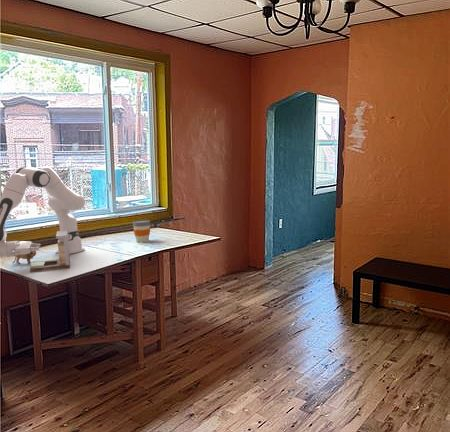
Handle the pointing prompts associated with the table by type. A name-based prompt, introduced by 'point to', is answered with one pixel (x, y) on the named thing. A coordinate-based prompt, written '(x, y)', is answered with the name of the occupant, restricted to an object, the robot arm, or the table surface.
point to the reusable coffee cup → (141, 230)
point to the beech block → (61, 252)
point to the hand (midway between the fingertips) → (39, 246)
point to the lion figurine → (25, 257)
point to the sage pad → (37, 264)
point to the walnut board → (50, 266)
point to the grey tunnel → (64, 237)
